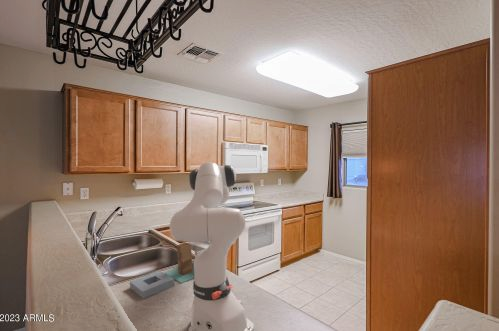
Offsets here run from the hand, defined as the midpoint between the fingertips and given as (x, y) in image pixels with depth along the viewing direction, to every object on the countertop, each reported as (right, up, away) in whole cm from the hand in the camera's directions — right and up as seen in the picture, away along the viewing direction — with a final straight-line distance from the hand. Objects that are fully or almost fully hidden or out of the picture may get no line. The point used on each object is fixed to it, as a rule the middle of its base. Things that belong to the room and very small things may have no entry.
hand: (190, 251), depth 124 cm
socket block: (-14, -10, -15) cm, 23 cm away
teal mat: (-2, -10, -3) cm, 10 cm away
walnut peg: (-2, -9, -3) cm, 10 cm away
